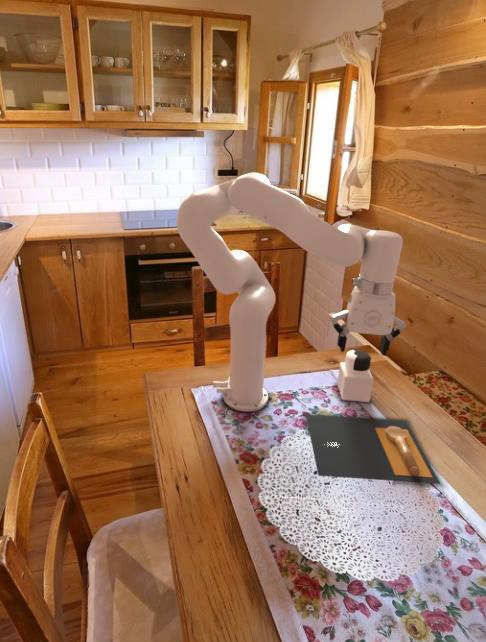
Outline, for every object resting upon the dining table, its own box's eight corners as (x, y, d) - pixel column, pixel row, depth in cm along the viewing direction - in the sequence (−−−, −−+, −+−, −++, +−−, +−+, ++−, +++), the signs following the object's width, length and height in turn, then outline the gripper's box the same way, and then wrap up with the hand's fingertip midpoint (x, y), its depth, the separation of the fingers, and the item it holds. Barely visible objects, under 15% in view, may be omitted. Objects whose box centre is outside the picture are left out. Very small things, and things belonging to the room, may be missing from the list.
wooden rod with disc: (426, 479, 88) (428, 471, 88) (404, 477, 89) (406, 469, 88) (401, 431, 102) (403, 423, 102) (383, 429, 103) (384, 422, 102)
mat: (318, 476, 89) (318, 474, 89) (305, 415, 108) (305, 414, 108) (440, 484, 87) (440, 483, 87) (405, 421, 106) (405, 420, 106)
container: (363, 386, 120) (369, 347, 116) (369, 402, 113) (377, 362, 109) (336, 384, 121) (342, 345, 117) (341, 400, 114) (347, 360, 110)
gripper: (339, 288, 89) (328, 355, 95) (420, 295, 88) (403, 362, 94) (333, 276, 96) (323, 339, 102) (408, 282, 95) (393, 346, 101)
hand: (361, 350), depth 98 cm, fingers open, 9 cm apart
